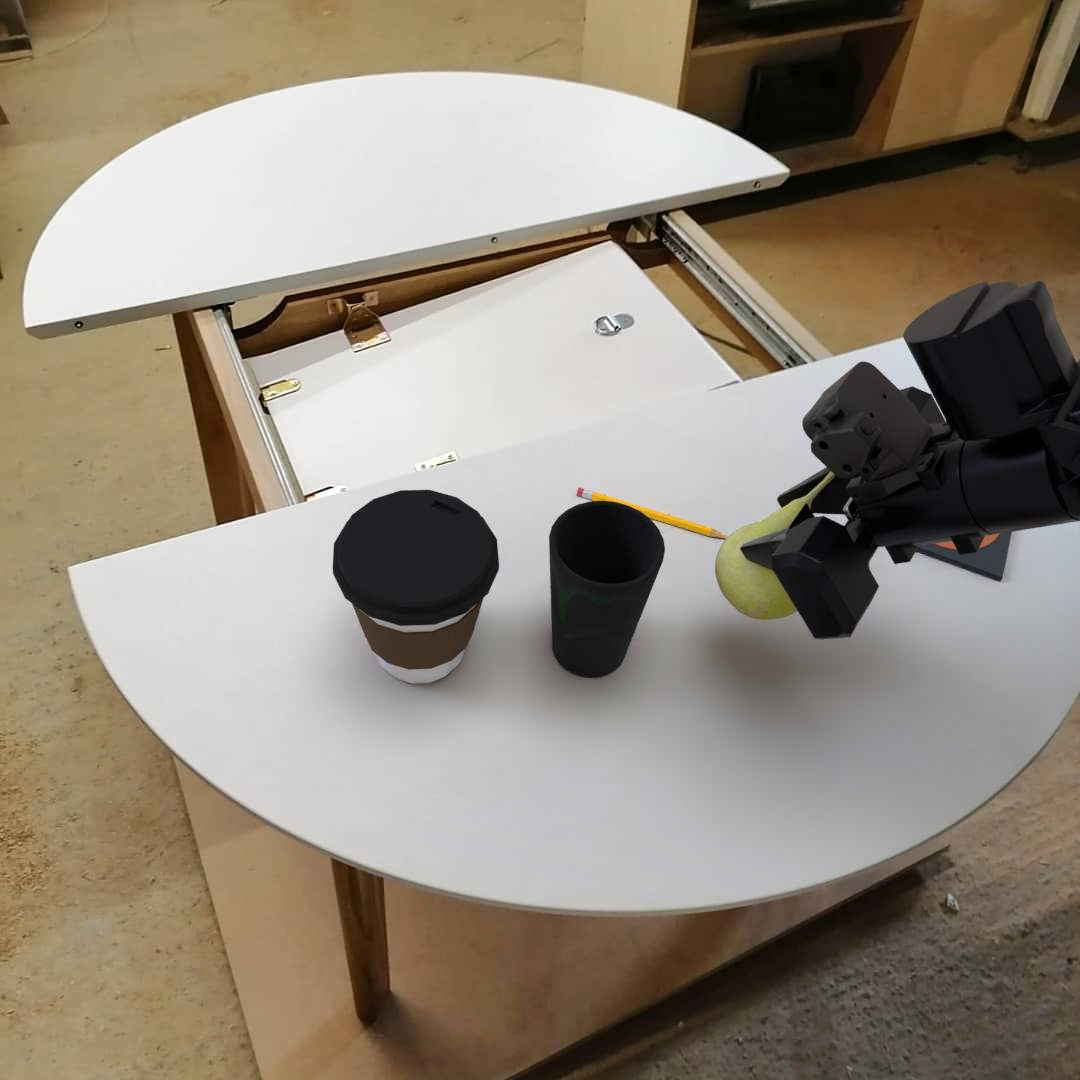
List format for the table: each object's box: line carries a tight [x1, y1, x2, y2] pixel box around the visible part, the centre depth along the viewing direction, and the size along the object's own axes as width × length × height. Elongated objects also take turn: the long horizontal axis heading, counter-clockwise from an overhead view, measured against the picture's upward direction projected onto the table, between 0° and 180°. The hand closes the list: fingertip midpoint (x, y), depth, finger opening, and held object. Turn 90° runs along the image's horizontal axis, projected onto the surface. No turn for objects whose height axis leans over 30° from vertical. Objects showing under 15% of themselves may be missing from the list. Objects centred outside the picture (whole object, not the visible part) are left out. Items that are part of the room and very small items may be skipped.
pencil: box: [575, 487, 728, 540], centre depth 84 cm, size 1×13×1 cm, turn 70°
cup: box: [548, 500, 666, 679], centre depth 71 cm, size 8×8×12 cm
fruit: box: [714, 471, 835, 621], centre depth 67 cm, size 7×8×12 cm
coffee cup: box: [332, 489, 500, 685], centre depth 70 cm, size 11×11×12 cm
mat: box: [916, 532, 1012, 582], centre depth 87 cm, size 11×11×1 cm
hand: (762, 526), depth 68 cm, fingers closed on fruit, 5 cm apart
